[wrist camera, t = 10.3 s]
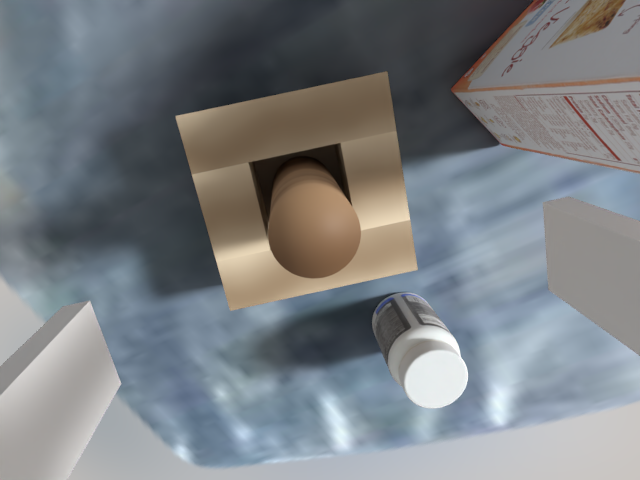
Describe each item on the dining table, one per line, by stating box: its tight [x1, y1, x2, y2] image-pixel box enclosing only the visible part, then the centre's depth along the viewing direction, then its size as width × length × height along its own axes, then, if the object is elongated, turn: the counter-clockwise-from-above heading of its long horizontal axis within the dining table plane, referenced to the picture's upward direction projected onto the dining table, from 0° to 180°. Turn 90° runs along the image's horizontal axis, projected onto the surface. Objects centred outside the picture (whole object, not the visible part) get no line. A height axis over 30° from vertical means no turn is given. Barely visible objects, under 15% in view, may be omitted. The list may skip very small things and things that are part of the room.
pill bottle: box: [372, 292, 468, 408], centre depth 32 cm, size 5×5×8 cm
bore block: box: [175, 71, 418, 311], centre depth 31 cm, size 12×12×5 cm
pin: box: [268, 156, 361, 279], centre depth 26 cm, size 4×4×12 cm
